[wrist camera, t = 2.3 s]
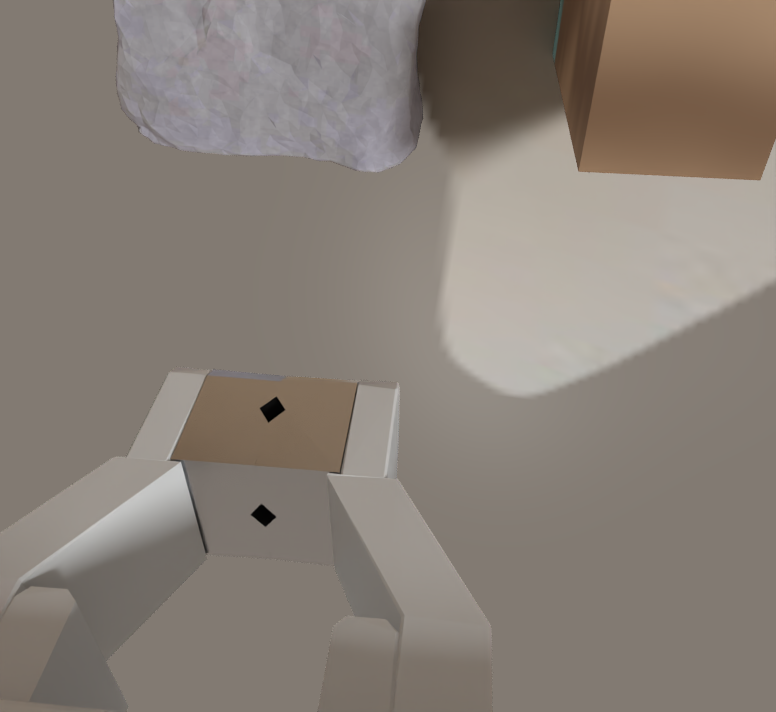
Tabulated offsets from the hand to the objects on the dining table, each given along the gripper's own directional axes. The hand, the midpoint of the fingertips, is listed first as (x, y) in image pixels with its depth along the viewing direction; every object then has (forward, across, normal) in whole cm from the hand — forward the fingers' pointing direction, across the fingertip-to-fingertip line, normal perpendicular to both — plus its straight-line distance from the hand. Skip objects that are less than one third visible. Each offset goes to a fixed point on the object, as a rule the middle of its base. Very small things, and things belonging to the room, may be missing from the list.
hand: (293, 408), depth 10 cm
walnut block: (+23, -8, 0) cm, 24 cm away
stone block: (+23, +5, +1) cm, 24 cm away
